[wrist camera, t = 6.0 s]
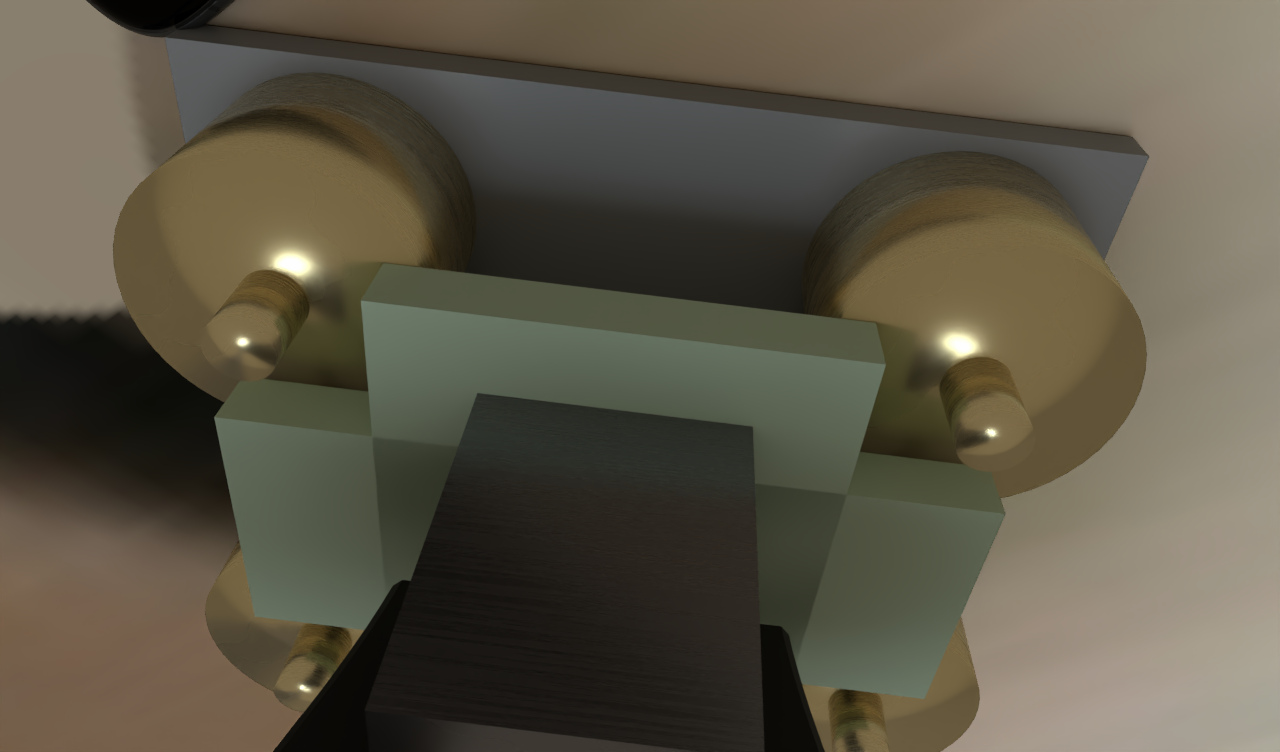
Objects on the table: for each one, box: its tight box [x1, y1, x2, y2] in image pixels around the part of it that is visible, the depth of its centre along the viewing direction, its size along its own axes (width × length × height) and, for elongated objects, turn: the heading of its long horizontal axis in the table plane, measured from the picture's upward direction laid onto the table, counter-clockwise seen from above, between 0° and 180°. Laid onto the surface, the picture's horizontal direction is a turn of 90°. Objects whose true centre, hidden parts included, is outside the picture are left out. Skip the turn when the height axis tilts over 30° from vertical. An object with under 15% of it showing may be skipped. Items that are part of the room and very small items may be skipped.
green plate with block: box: [214, 263, 1005, 752], centre depth 11 cm, size 9×7×5 cm
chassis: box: [113, 25, 1149, 752], centre depth 14 cm, size 12×10×4 cm
